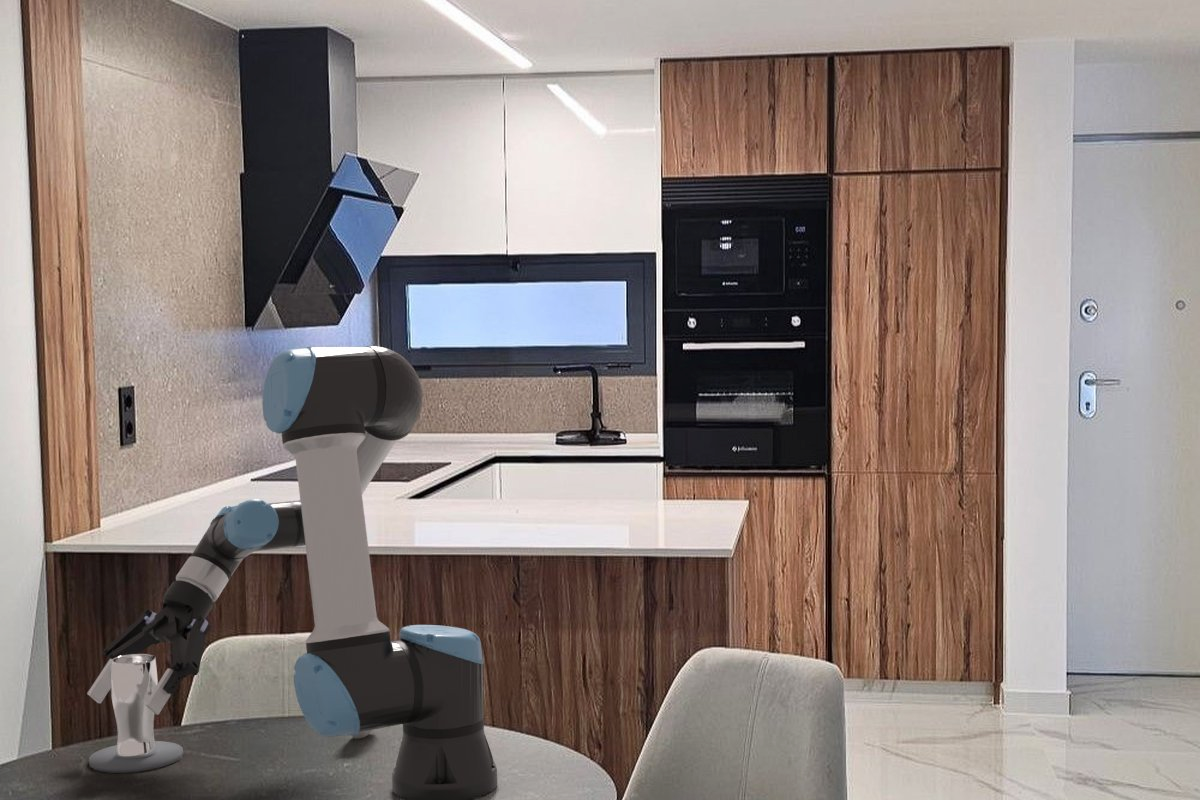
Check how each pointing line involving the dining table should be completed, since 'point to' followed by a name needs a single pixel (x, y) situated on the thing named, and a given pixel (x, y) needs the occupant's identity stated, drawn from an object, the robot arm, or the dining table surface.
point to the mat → (113, 764)
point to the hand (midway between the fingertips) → (122, 704)
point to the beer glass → (134, 704)
